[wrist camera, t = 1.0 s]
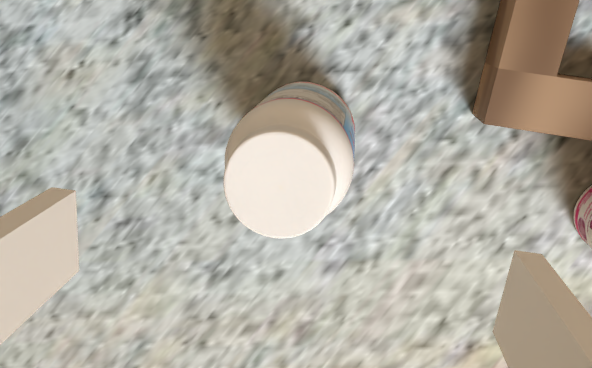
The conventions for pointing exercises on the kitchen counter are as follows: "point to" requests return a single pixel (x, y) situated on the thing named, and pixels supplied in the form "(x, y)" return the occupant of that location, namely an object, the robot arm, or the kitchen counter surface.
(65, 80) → the kitchen counter surface
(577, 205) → the pill bottle
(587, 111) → the socket block
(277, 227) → the pill bottle
